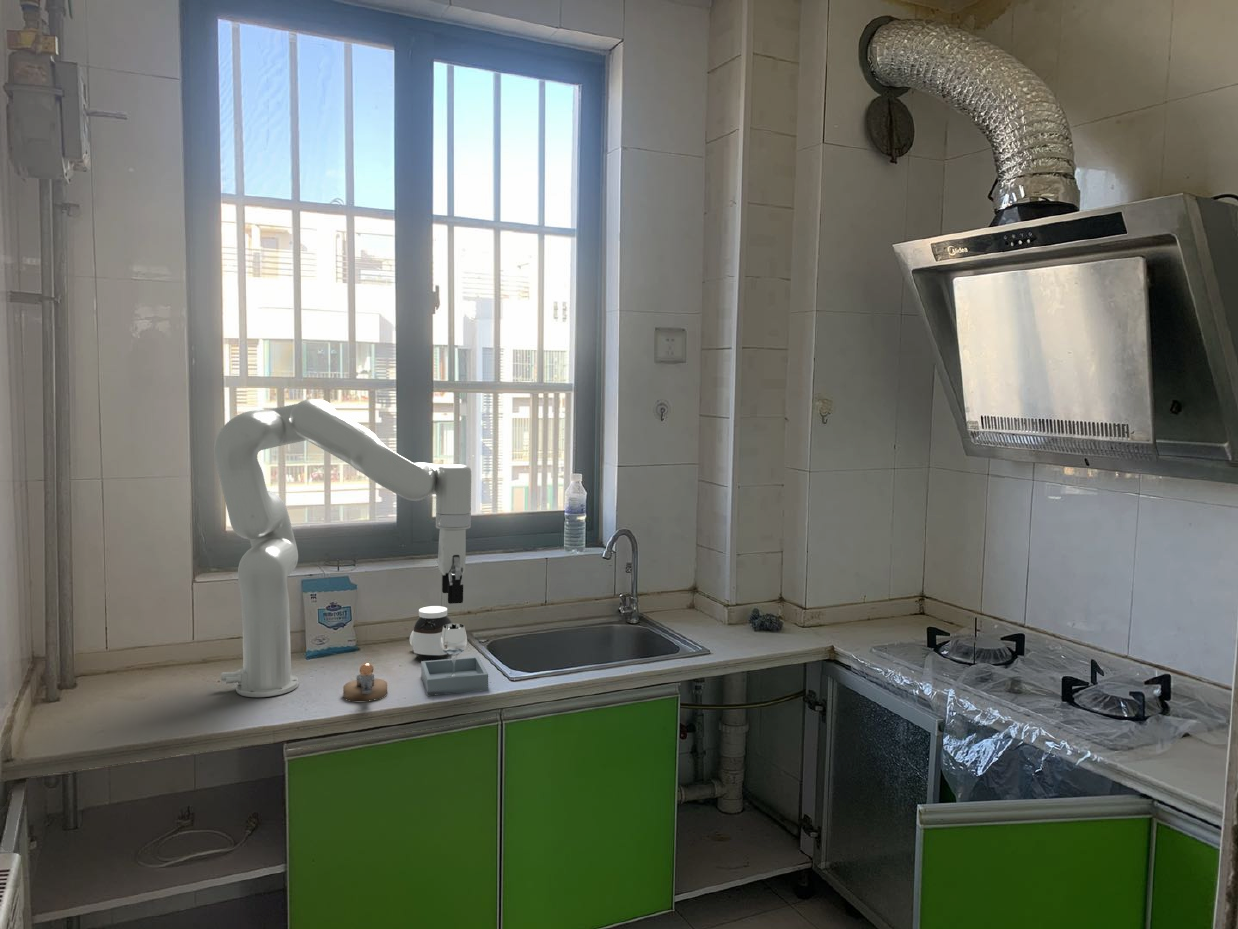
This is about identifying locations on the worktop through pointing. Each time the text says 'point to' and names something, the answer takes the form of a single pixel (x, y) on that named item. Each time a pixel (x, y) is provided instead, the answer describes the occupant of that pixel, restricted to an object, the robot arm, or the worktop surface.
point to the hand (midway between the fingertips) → (452, 597)
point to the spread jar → (429, 633)
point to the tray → (468, 678)
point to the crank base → (355, 694)
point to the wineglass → (453, 641)
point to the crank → (366, 678)
